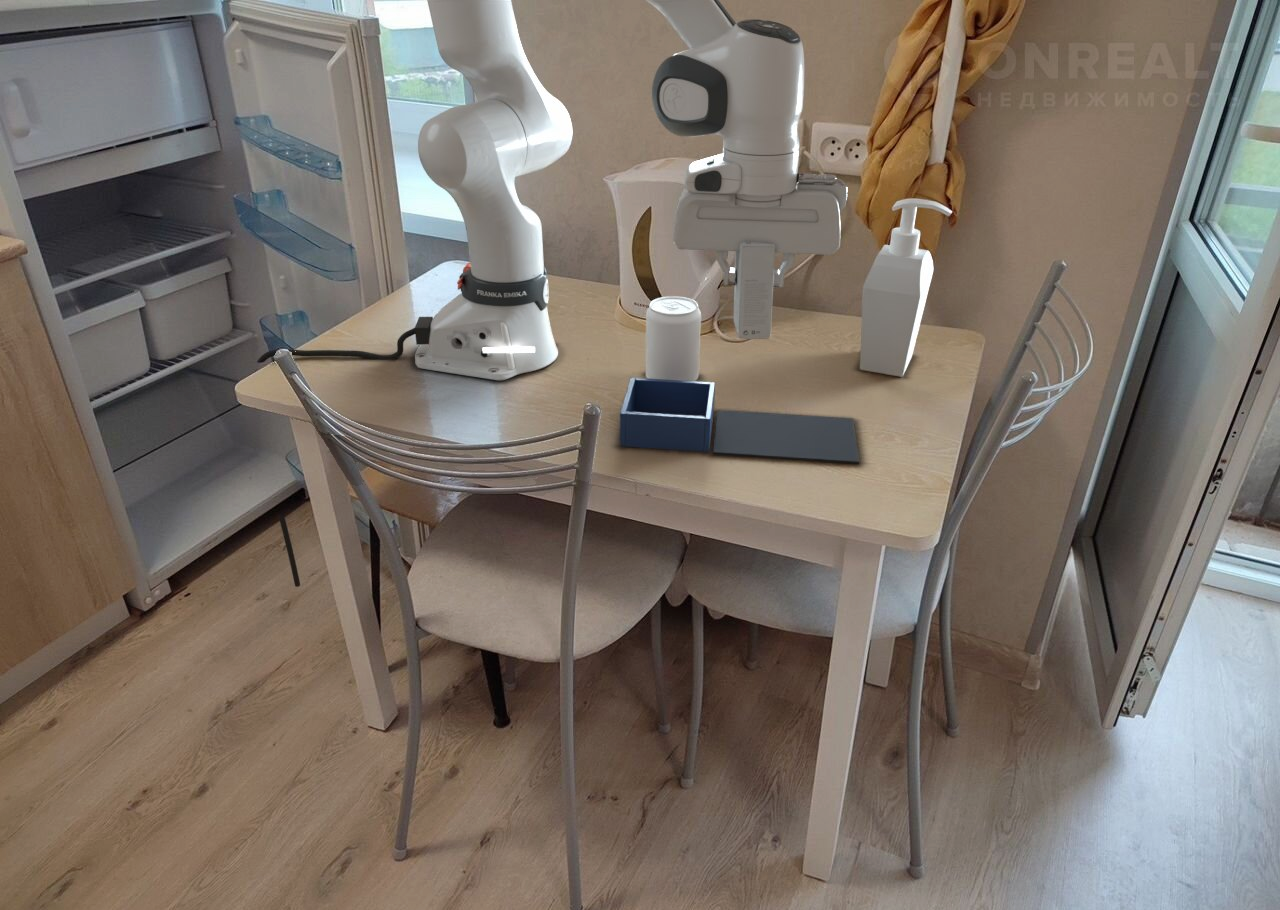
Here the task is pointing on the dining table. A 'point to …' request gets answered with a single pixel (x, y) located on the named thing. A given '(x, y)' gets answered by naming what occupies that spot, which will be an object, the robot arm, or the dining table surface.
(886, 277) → the soap bottle
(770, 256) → the cosmetic box
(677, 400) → the bin
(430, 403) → the dining table surface
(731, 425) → the mat
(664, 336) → the beverage can
